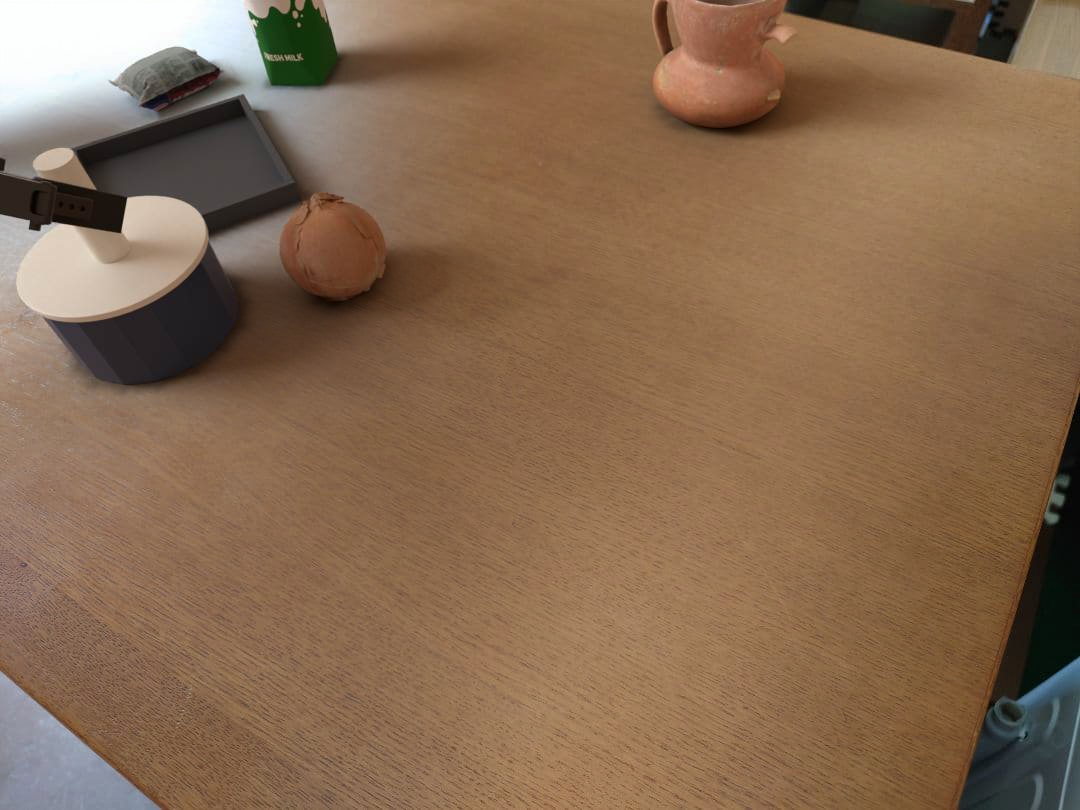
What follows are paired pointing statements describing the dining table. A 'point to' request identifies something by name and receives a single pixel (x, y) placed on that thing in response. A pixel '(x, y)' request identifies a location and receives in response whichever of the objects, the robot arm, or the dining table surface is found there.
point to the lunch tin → (158, 330)
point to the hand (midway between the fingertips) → (58, 194)
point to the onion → (332, 248)
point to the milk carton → (293, 40)
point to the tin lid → (109, 254)
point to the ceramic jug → (719, 60)
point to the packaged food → (167, 77)
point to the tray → (196, 163)
